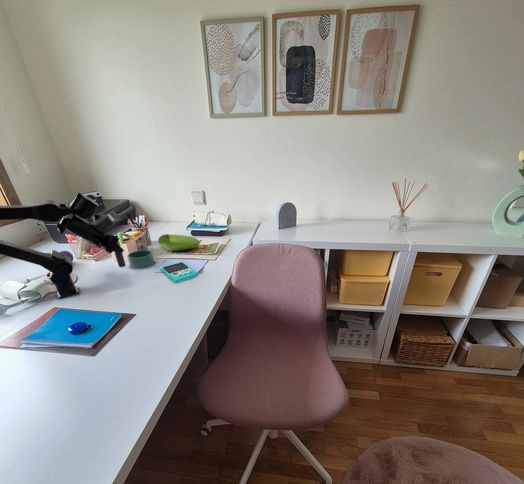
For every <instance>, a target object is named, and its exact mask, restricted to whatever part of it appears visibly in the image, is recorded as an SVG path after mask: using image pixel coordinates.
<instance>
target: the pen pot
mask: <svg viewBox="0 0 524 484" xmlns="http://www.w3.org/2000/svg"><path fill="white" fill-rule="evenodd" d="M153 254H154V253H153V251H152V250H150V249H139V250H135V251H134V250H133V251H131V252H130V253H128V254H127V260H128V263H129V266H130V268H132V269H138V270H139V269H140V270H141V269H146V268H149V267H152V266H153V265H154V264H155V259H154V255H153Z"/></svg>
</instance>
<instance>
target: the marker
mask: <svg viewBox="0 0 524 484" xmlns="http://www.w3.org/2000/svg"><path fill="white" fill-rule="evenodd" d="M117 244H118V245H119V246H120V247H121V248H122V246H121V242H120V241H118V243H117ZM114 256H115V259H116V262H117V266H118V268H125V267H126V262H125V258H124V255H123V252H114Z"/></svg>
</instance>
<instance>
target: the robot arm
mask: <svg viewBox="0 0 524 484" xmlns="http://www.w3.org/2000/svg"><path fill="white" fill-rule="evenodd" d="M99 206H100V205H99V204H98V203H97V202H96V201H95V200H93V199H92V198H90V197H88V196H86V195H84V194H83V193H81V192H77V193H76V195H75V198H74V199H73V201H72V202H71V203H59V202H57V201H56V200H51V199H49V200H43V201H38V202H34V203H30V204H16V205H15V204H13V205H9V204H8V205H0V221H8V220H9V221H10V220H11V221H13V220H34V221H35V220H36V221H40V222H49V223H55V226H56V227H57V231H58V232H59V234H61V235H62V234H63V233H65V231H68V232H70V233H71V234H74V235H76V236H78V237H79V238H81V239H83V240H85V242H87V243H89V244H90V245H95V246H96V247H97V248H101V250H103V251H105V252H106V253H108V254H113V253H115V252H122V253H124V252H125V249H123V248H122V246H121V245H120V246H121V247H120V246H119V245H118V244H117V243H118V242H120V238H119V237H118V236H116V235H114V234H112V233H107V231H106V230H107V229H108V228H110V227H111V226H113V225H114V221H113V220H112V219H111V217H110V216H109V215H107V214H105V213H102V214H97V213H95V212H96V211H97V210H98V209H99ZM91 218H92V222H89V221H86V220H88V219H91ZM59 221H60V222H59ZM60 252H61V251H57V250H55V249H51V252H42V251H39V250H35V249H32V248H29V247H26V246H22V245H19V244H16V243H13V242H10V241H6V240H3V239H0V255H2V256H5V257H9V258H13V259H16V260H20V261H24V262H27V263H30V264H33V265H37V266H40V267H42V268H44V269H45V270H46V271H49V272H50V279H49V281H51V282H52V283H53V284H54V286H55V289H56V290H57V292H56V293H57V298H58V299H63V298H67V297H71V296H75V295H78V294H79V293H80V292H79V289H78V286H76V285H75V283H74V281H73V278H72V276H71V274H72V273H73V270H74V264H73V261H72V260H71V258H70V257H68V256H66V254H65V253H60Z"/></svg>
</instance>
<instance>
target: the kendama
mask: <svg viewBox="0 0 524 484" xmlns="http://www.w3.org/2000/svg"><path fill="white" fill-rule="evenodd" d="M59 252H60V253H65V254H66V256H68V257H70V258H71V260H72V262H73V261H74V255H73V254H72V253H71V252H70V251H68V250H61V251H59ZM46 277H47V278H48V277H50V271H49V272H47V274H46ZM48 279H49V280H50V278H48Z"/></svg>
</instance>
